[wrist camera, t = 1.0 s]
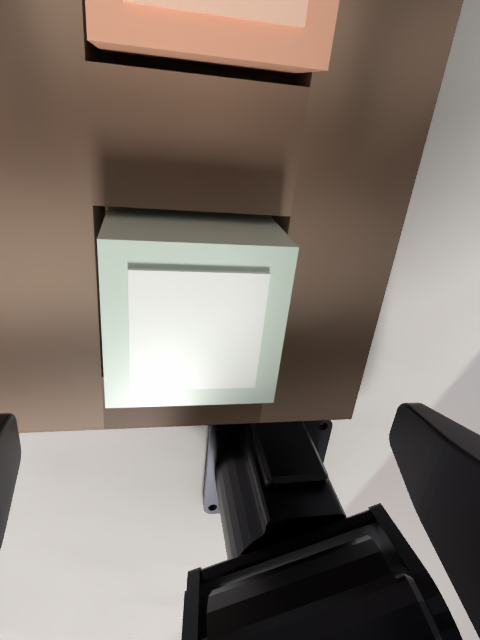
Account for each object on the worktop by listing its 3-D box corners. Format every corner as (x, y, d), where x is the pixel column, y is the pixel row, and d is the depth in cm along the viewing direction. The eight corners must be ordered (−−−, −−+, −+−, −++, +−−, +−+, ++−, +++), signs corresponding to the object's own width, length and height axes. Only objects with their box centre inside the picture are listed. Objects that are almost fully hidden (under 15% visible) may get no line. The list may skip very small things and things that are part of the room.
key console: (310, 352, 22) (351, 418, 17) (25, 354, 19) (-12, 434, 15) (420, -195, 13) (552, -334, 9) (-71, -326, 11) (-227, -615, 6)
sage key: (251, 345, 17) (274, 405, 14) (114, 345, 16) (104, 411, 13) (267, 213, 14) (300, 249, 11) (109, 204, 13) (96, 240, 10)
